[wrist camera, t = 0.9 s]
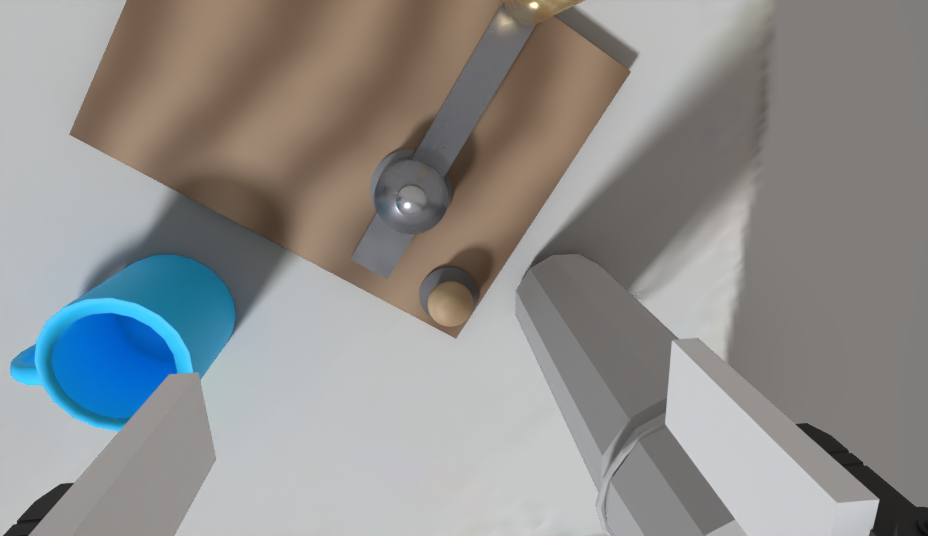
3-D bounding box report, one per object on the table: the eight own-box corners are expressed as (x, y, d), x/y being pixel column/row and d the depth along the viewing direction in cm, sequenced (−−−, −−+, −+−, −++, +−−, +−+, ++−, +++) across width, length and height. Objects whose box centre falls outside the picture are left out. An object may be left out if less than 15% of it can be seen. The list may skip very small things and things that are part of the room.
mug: (214, 242, 37) (163, 283, 30) (251, 351, 40) (213, 415, 32) (33, 279, 37) (-66, 329, 29) (82, 386, 40) (2, 459, 32)
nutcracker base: (80, 132, 34) (34, 139, 30) (229, -212, 30) (200, -261, 26) (454, 331, 41) (460, 359, 37) (623, 72, 36) (652, 70, 32)
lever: (400, 275, 37) (397, 349, 27) (341, 242, 36) (313, 307, 26) (566, 2, 33) (641, -37, 23) (505, -43, 32) (552, -107, 22)
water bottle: (496, 266, 40) (624, 533, 16) (602, 234, 40) (890, 453, 16) (527, 377, 43) (674, 740, 19) (626, 347, 43) (898, 673, 19)
